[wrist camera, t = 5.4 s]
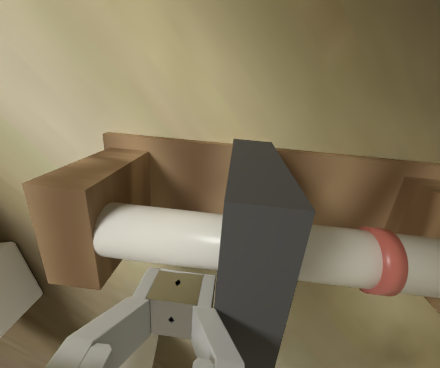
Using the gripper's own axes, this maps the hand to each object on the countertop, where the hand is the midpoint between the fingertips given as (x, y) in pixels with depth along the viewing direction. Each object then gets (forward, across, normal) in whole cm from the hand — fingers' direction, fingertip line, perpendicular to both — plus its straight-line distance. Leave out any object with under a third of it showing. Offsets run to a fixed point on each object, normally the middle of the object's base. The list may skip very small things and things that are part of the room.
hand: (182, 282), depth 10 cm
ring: (+8, -3, 0) cm, 8 cm away
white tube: (+5, -5, 0) cm, 7 cm away
